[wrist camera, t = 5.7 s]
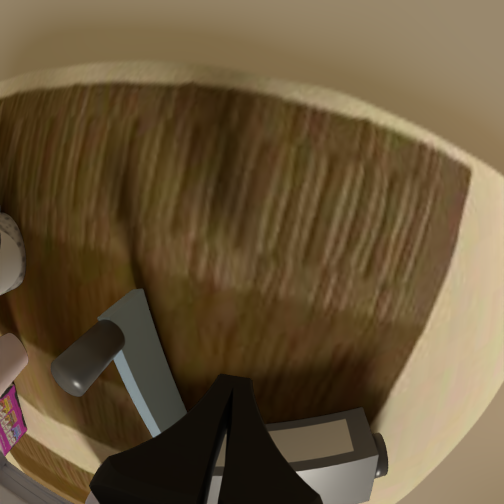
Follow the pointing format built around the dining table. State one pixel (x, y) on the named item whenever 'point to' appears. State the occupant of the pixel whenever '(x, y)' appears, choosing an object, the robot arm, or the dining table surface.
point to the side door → (125, 361)
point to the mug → (11, 254)
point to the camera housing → (326, 455)
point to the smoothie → (11, 360)
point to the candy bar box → (10, 420)
